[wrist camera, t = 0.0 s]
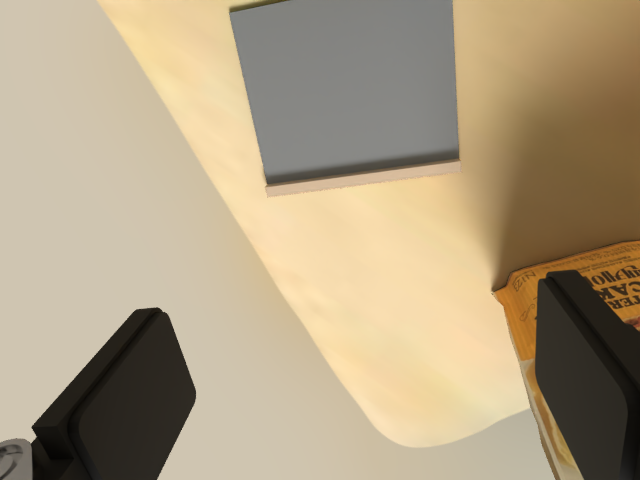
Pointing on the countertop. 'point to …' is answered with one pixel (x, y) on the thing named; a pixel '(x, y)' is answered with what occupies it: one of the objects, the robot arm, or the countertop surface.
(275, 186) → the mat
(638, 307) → the pancake mix bag
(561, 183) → the countertop surface
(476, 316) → the countertop surface
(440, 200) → the countertop surface
